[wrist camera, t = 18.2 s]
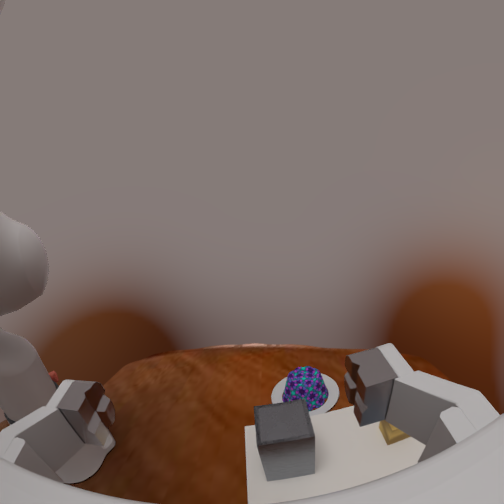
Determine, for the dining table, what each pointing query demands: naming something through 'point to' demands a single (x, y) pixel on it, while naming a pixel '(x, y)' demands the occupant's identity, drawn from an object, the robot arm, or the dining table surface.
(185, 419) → the dining table surface
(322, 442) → the placemat
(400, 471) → the robot arm
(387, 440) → the block
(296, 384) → the pudding
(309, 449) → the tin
